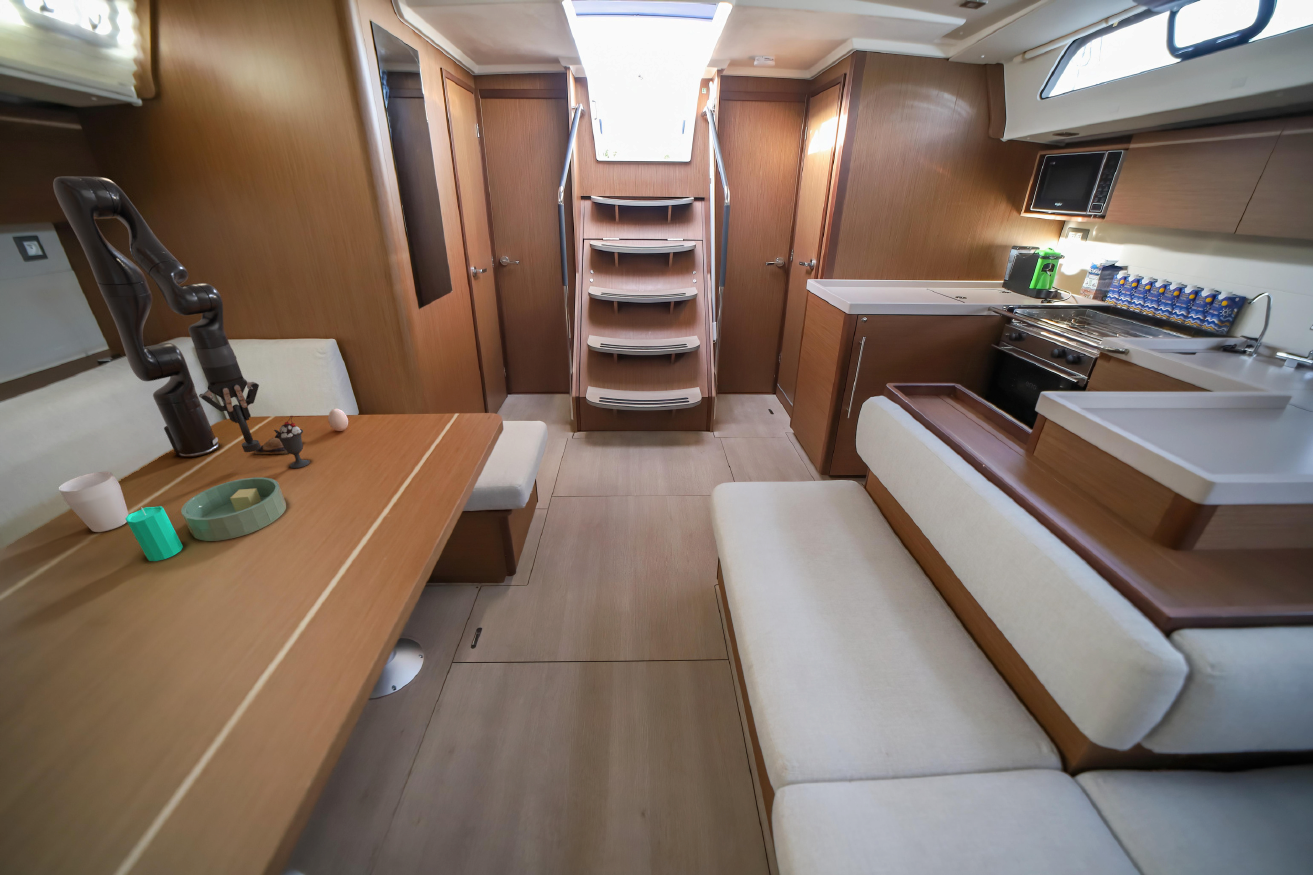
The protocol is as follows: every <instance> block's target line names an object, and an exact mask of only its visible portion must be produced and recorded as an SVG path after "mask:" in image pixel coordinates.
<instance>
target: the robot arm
mask: <svg viewBox="0 0 1313 875" xmlns="http://www.w3.org/2000/svg"><path fill="white" fill-rule="evenodd" d="M52 187H53V191H54V195H55V197H56V199H57V202H58V204H59V206H60V208H61V210H62V212H63V214H64V216H65V218H66V219H67V221H68V223H69V225H70V227H71V228H72V230H73V232H74V233H75V236H76V238H77V240H78V241H79V243H80V245H81V248H82V250H83V252H84V254H85V257H86V259H87V261H88V264H89V266H90V268H91V271H92V274H93V276H94V279H95V281H96V284H97V286H98V288H99V291H100V294H101V295H102V298H103V300H104V301H105V304H106V305H107V308H108V310H109V312H110V314H111V317H112V319H113V321H114V324H115V326H116V329H117V331H118V335H119V338H120V340H121V344H122V346H123V347H122V348H123V350H124V353H125V356H126V358H127V361H128V362H127V363H128V364H129V366H130V368H131V371H132V372H133V374H134V375H135V376H136V377H137V378H138V379H139V380H141V382H142V381H143V382H148V383H149V382H153V381H158V380H161V379H166V378H169V379H168V381H167V382H166V383H165V384H164V385H162V386H161V387H160V388H158V389H156V390H155V391H154V392H153V394H152V397H153V401H154V402H155V404H156V407H157V408H158V410H159V412H160V414H161V417H162V419H163V421H164V423H165V425H166V426H164V427H163V430H164V432H165V434H166V436H167V438H168V440H169V443H170V445H171V447H172V449H173V451H174V453H175V456H176V457H181V458H196V457H201V456H205V455H208V454H211V453H213V452H215V451H217V450H218V449H219V448H220V444H219V442H218V441H219V438H218V436H215V432H214V431H213V428H212V426H211V423H210V421H209V419H208V417H207V415H206V414H207V413H206V412H205V409H204V408H203V405H202V403H201V400H203V401H204V402H206V403H207V404H208V405H210V406H211V407H213V408H215V409H216V410H217V411H219V412H221V413H223V412H226V414H227V416H228V418H229V420H230V421H231V422H232V423H235V424H238V423H239V420H238V417H237V415H236V412H235V411H234V410H233V401H232V399H233V398H235V399H236V401H237V404H238V405H240V407H241V409H242V412H243V414H244V417H245V420H246V422H247V421H249V420H250V418H251V413H250V410H249V406H250V405H253V404H254V403H255V400H256V397H257V394H258V391H259V387H260V385H259V384H258V383H257V382H255V381H247V379H246V378H244V376H243V373H242V371H241V368H240V365H239V363H238V362H239V361H238V360H237V355H236V354H235V352H234V349H233V348H232V346H231V344H230V342H229V339H228V336H227V333H226V331H225V326H224V325H225V324H224V323H225V322H224V302H223V298H222V295H221V293H220V292H219V291H218V290H217V288H216V287H214V286H213V285H211V284H209V283H206V282H201V283H194V284H186V285H182V284H183V283H184V284H185V282H186V281H187V280H188V279H189V272H188V270H187V268H186V267H185V266H184V265H183V264H182V263H181V262H180V261H179V260H178V259H177V258H176V257H175V256H174V255H173V253H171V252H170V251H169V250H168V249H167V248H166V246H165V245H164V244H163V243H162V242H161V241H160V239H159V238H158V237H157V235H156V234H155V233H154V232H153V230H152V229H151V228H150V226H149V225H148V223H147V222H146V220H145V219H144V217H143V216H142V214H141V213H140V212H139V211H138V209H137V208H136V206H135V205H134V204H133V202H132V200H130V198H129V197H128V195H127V194H126V193H125V192H124V190H123V189H122V188H121V187H120V186H118V184H116V183H115V181H112V179H109V178H107V177H101V176H57V177H55V178H54V180H53V183H52ZM100 219H101V220H103V219H117V220H119V221H120V222H121V223H122V224H123V225H124V226H125V227H126V228H127V231H128V237H129V238H128V240H129V242H128V244H129V251H130V254H131V257H132V258H133V259H134V261H135V262H136V263H137V264H138V265H137V264H135V263H134V262H133V261H132V260H131V259H129V258H128V257H127V256H126V255H125V254H123V253H122V252H121V251H119V249H116V247H114V246H113V245H112V244H111V243H110V242H109V241H108V240H107V239H106V238H105V236H104V234H103V233H102V231H101V230H100V228H99V226H98V224H97V222H96V220H100ZM142 270H143V271H144V272H145V273H146V274H147V275H148V276H149V277H150V278H151V279H152V280H153V281H154V282H155V284H156V285H157V287H158V289H159V291H160V293H161V294H162V296H163V298H164V300H165V302H166V304H167V306H168V307H169V308H170V309H171V310H172V311H173V312H174V313H176V314H178V315H181V316H184V317H188V316H189V317H190V316H195V315H200V314H201V317H200V320H198V321H197V322H195V323H192V324H191V325H189V327H188V333H189V336H190V338H191V341H192V344H193V345H194V349H195V351H196V356H197V359H198V362H199V364H200V367H201V369H202V372H203V375H204V377H205V379H206V382H207V390H206V391H205V392H203V393H200V394H199V395H198V393H197V390H196V386H195V383H194V381H193V378H192V375H191V372H190V370H189V367H188V363H187V361H186V358H185V355H184V354H183V353H182V351H181V350H180V348H179V347H178V346H176V345H175V344H174V343H172V342H164V343H157V344H153V345H148V346H145V343H144V336H143V334H144V333H143V332H144V326H145V324H146V321H147V319H148V316H149V314H150V311H151V308H152V306H153V300H154V298H153V294H152V291H151V288H150V285H149V283H148V280H147V278H146V275H145V273H144V272H143V271H142ZM246 388H247V392H246V393H247V394H246V396H244V391H245V389H246ZM213 394H214V395H215V396H217V397H218V398H220V399H221V402H222V405H221V404H219V403H218V402H216V401H215V400H214V396H213ZM200 399H201V400H200Z"/></svg>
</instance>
